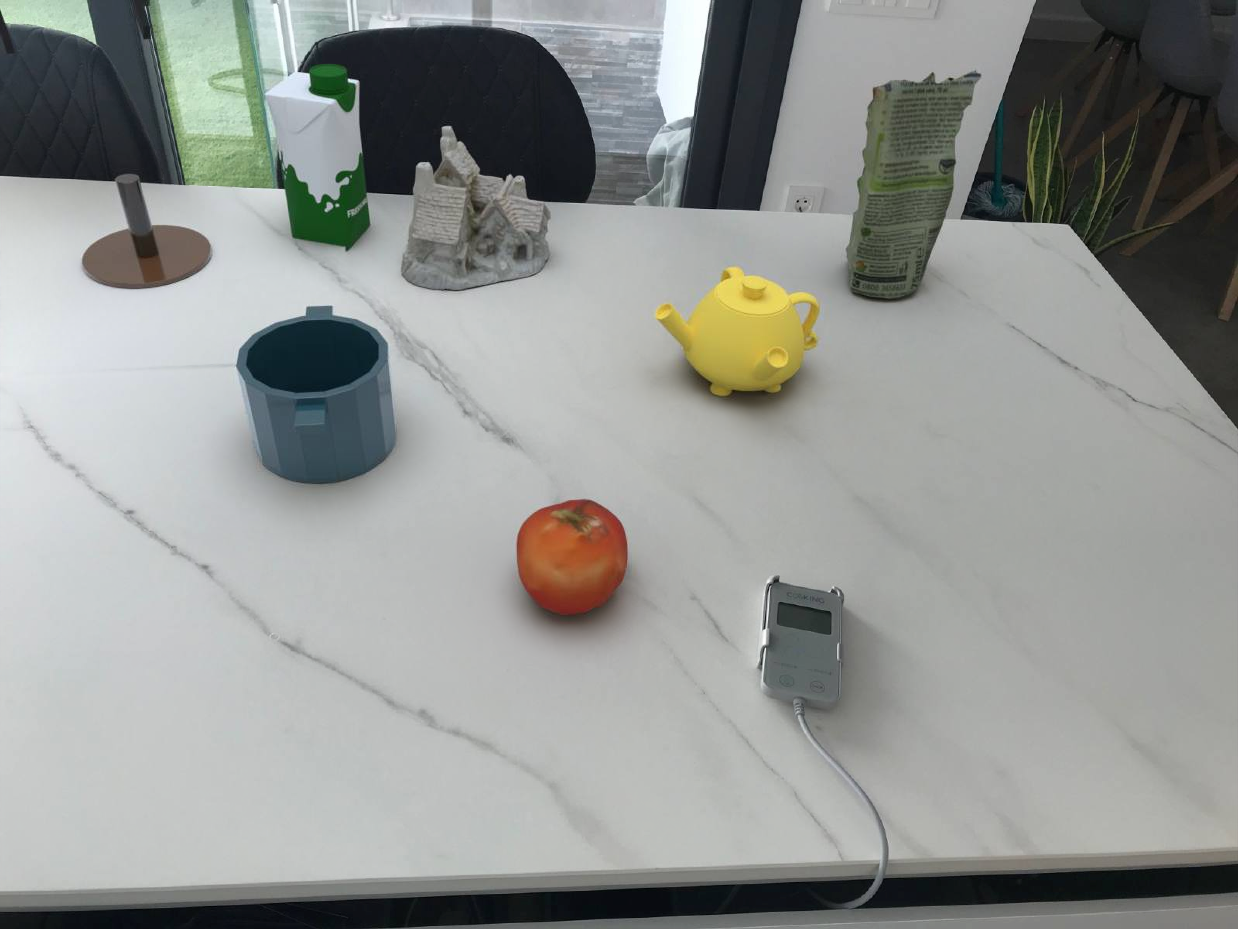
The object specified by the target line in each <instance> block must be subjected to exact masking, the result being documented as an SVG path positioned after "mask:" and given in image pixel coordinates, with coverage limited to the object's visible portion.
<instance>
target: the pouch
mask: <svg viewBox="0 0 1238 929" xmlns="http://www.w3.org/2000/svg"><path fill="white" fill-rule="evenodd" d="M982 75H983V74H982V73H980V72H977V69H975V70H972V71H969V72H967V73H965V74H963V75H961V76H959V77H957V78H954V77H947V78H946V79H944V80H943V81H940V82H939V83H938V82H936V74H935V73H934V71H932V72H931V73H930V74H929V75H928V76H927V77H925V78H924V79H923V80H921V81H914V80H908V79H902V80H900V79H893V80H889V81H888V82H886V83H883V84H881V85H877V86H873V87H872V100H871V101H870V102H869V104H868V105H867V116H866V121H865V127H866V142H865V147H864V148H863V149H862V153H861V155H862V159H863V164H864V166H863V168H862V169H863V170H862V174H861V176H859V177H858V178H857V180H856V186H857V190H858V196H859V197H858V208H857V209H856V210H855V212H853V214H852V223H851V230H850V236H849V242H848V244H847V246H846V247H845V252H846V259H847V268H848V269H847V270H848V273H849V281H850V282H849V286H850V288H851V291H852V292H853V293H857V294H860V295H863V296H866V297H870V298H881V299H888V300H890V299H899V298H902V297H905V296H908V295H911V294H913V293H915V292H916V291H918V289H919V287H920V284H921V282H922V280H923V278H924V277H925V273H926V269H927V266H928V263H929V261H930V258H931V254H932V252H933V249H934V247H935V246H936V245H935V244H936V243H937V240H938V237H939V235H940V233H941V230H942V227H943V225H944V221H945V219H946V217H947V211H948V209H949V207H950V204H951V200H952V197H953V191H954V188H955V186H954V185H955V184H954V180H955V178H954V177H955V176H954V173H955V168H956V164H957V159H956V136H957V135H958V134H959V132H960V130H961V128H962V127H961V126H962V121H963V118H964V112H965V110H966V109H967V108H968V107H969V106H971V105H972V103H973V96H974V91H975V86H976V84H977V83H978V82H979V81H980V80H981V78H982Z"/></svg>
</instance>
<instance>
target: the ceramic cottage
mask: <svg viewBox="0 0 1238 929" xmlns="http://www.w3.org/2000/svg"><path fill="white" fill-rule="evenodd" d="M439 147H440V152H441V162H440V164H439V166H438V168H437V170H436V171H435V172H434V170H433V166H432V165H431V163H430V162H429V161H427V162H425V161H422V162H418V164H417V165H416V166H415V177H414V178H415V180H414V185H413V187H412V194H413V195H412V196H413V210H412V211H413V212H412V219H411V221H410V223H409V226H408V235H407V236H408V237H407V240H406V241H407V243H406V246H405V249H404V251H403V253H402V258H401V268H400V270H401V275H402V277H404V278H405V280H406V281H407V282H408V283H411V284H412V285H414V286H418V287H422V288H425V289H427V288H428V289H431V290H443V291H444V290H445V289H446V290H451V291H452V290H453V291H454V290H455V291H460V290H465V289H466V290H467V289H469V288H471V289H472V288H473V287H481V286H485V285H491V284H496V283H499V282H500V283H501V281H503V282H505V281H509V280H510V281H511V280H514V279H515V280H516V279H523V278H528V277H530V276H532V275H535V274H538V273H539V272H540V271H541V270H542V269H543V268H544V266H545V262H546V261H548V259H549V257H550V255H551V252H550V247H549V242H548V240H546V234H548V232H549V230H548V221H550V220H551V219H552V218H551V216H552V215H551V211H550V209H549V208H548V206H547V205H546V202H545V201H540V200H534V199H529V198H528V195H527V189H526V180H525V177H524V176H523V175H516V176H515V177H513V175H512V174H510V173H509V174H508V175H507V176H506V178H505V180H504V179H503V178H502V177H498V176H490V175H482V174H480V171H481V168H480V167H479V165H478V164H477V163H476V161H475V159H474V158H473V157H472V156H471V154H470V153H469V150H467V147H466V145H465V144H464V143H463V142H462V141H461V140H460V141H458V139H457V137H456V135H455V132H454V130H453V127H452V125H451V126H450V125H446V126H442V127H441V137H440V146H439Z"/></svg>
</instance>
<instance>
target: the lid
mask: <svg viewBox="0 0 1238 929" xmlns="http://www.w3.org/2000/svg"><path fill="white" fill-rule="evenodd" d="M114 181H115V185H116V189H117V193H118V195H119V199H120V203H121V207H122V210H123V213H124V217H125V219H126V224H127V228H125V229H122V230H117V231H115V232H111V233H110V234H107V235H105V236H103V237H100V238H99V239H97V240H96V241H95V242H93V243H92V244H90V245H89V246H88V247H87V248H86V250H85V251H84V253H83V255H82V258H81V264H82V268H83V271H84V272H85V274H86V275H87V276H88V277H89V278H90V279H92V280H93V281H95V282H97V283H99V284H102V285H105V286H110V287H114V288H121V289H147V288H149V289H150V288H156V287H162V286H165V285H169V284H173V283H177V282H179V281H181V280H185V279H187V278H189V277H191V276H193V275H195V274H197V273H198V272H200V271H201V270H202V269H204V268H205V266H207V264H208V263H209V262H210V260H211V258H212V254H213V251H212V245H211V242H210V240H209V239H208V238H207V237H206V236H205V235H204V234H202V233H200V232H199V231H196V230H194V229H192V228H188V227H184V226H179V225H171V224H170V225H169V224H152V221H151V217H150V213H149V210H148V206H147V205H148V204H147V202H146V198H145V194H144V190H143V186H142V183H141V180H140V177H139V175H137V174H135V173H124V174H120V175H117V176H116V178H115V179H114Z"/></svg>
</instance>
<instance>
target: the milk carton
mask: <svg viewBox="0 0 1238 929" xmlns="http://www.w3.org/2000/svg"><path fill="white" fill-rule="evenodd" d="M264 98H265V100H266V103H267V106H268V109H269V112H270V115H271V118H272V122H273V126H274V133H275V139H276V143H277V151H278V156H279V163H280V168H281V174H282V180H283V187H284V193H285V198H286V206H287V212H288V213H287V214H288V218H289V225H290V232H291V237H292V239H296V240H301V241H303V240H304V241H307V242H308V241H309V242H314V243H319V244H320V243H321V244H327V245H332V246H336V247H337V246H338V247H343V248H344V247H345V248H344V249H345V251H349V250H350V249H351V247H352V246H353V245H354V244H355V243H356V242H357V241H358V239H359V238H360V237H362V235H363V234H364V233H365V231H367V229H368V228H369V227H370V226H371V218H370V210H369V209H370V208H369V201H368V194H367V185H366V184H367V182H366V175H365V174H366V173H365V166H364V155H363V147H362V138H361V137H362V136H361V128H360V81H359V80H358V79H353V78H349V76H348V70H347V68H346V67H345V66H343V65H339V64H334V63H322V64H316V65H314V66H312V67H310V68H309V71H308V72H300V71H294V72H292V73H291V74H290V75H288V76H287V77H285V78H284V79H283V80H281V81H280V82H279V83H277V84H276V85H274V87H272V88H270V89H269V90H268V91H266V92H265V93H264Z"/></svg>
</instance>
